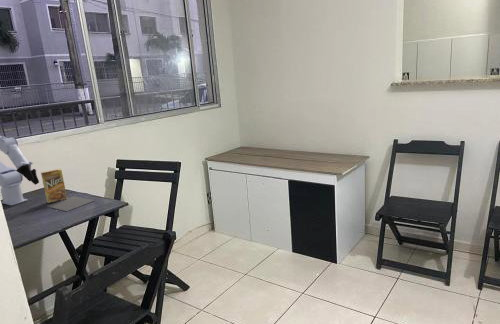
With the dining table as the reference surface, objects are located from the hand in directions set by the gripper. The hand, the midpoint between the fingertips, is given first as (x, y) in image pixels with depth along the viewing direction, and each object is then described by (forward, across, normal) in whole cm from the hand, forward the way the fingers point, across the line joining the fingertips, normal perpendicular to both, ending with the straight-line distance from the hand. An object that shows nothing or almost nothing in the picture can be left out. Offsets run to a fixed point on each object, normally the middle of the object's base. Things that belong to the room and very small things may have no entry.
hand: (34, 181), depth 173 cm
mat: (+18, +3, -7) cm, 19 cm away
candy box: (+11, +10, -2) cm, 15 cm away
